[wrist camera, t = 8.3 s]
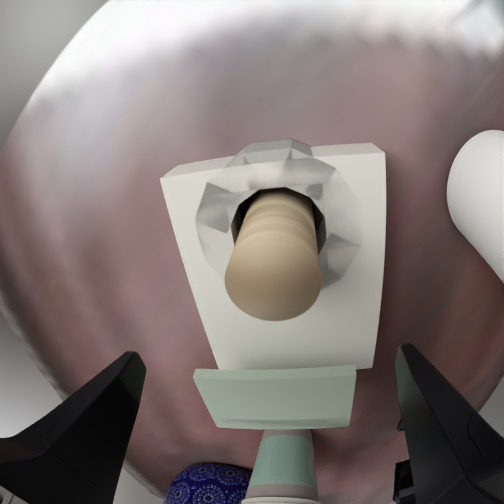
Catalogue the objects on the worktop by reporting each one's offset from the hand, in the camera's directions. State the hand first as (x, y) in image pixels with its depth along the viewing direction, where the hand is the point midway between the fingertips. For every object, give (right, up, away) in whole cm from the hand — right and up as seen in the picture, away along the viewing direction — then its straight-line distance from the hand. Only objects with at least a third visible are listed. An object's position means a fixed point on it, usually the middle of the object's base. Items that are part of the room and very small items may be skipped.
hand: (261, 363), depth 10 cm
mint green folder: (+2, -4, +15) cm, 16 cm away
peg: (+2, +6, +10) cm, 12 cm away
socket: (+2, +3, +12) cm, 12 cm away
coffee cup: (+4, -18, +24) cm, 30 cm away
